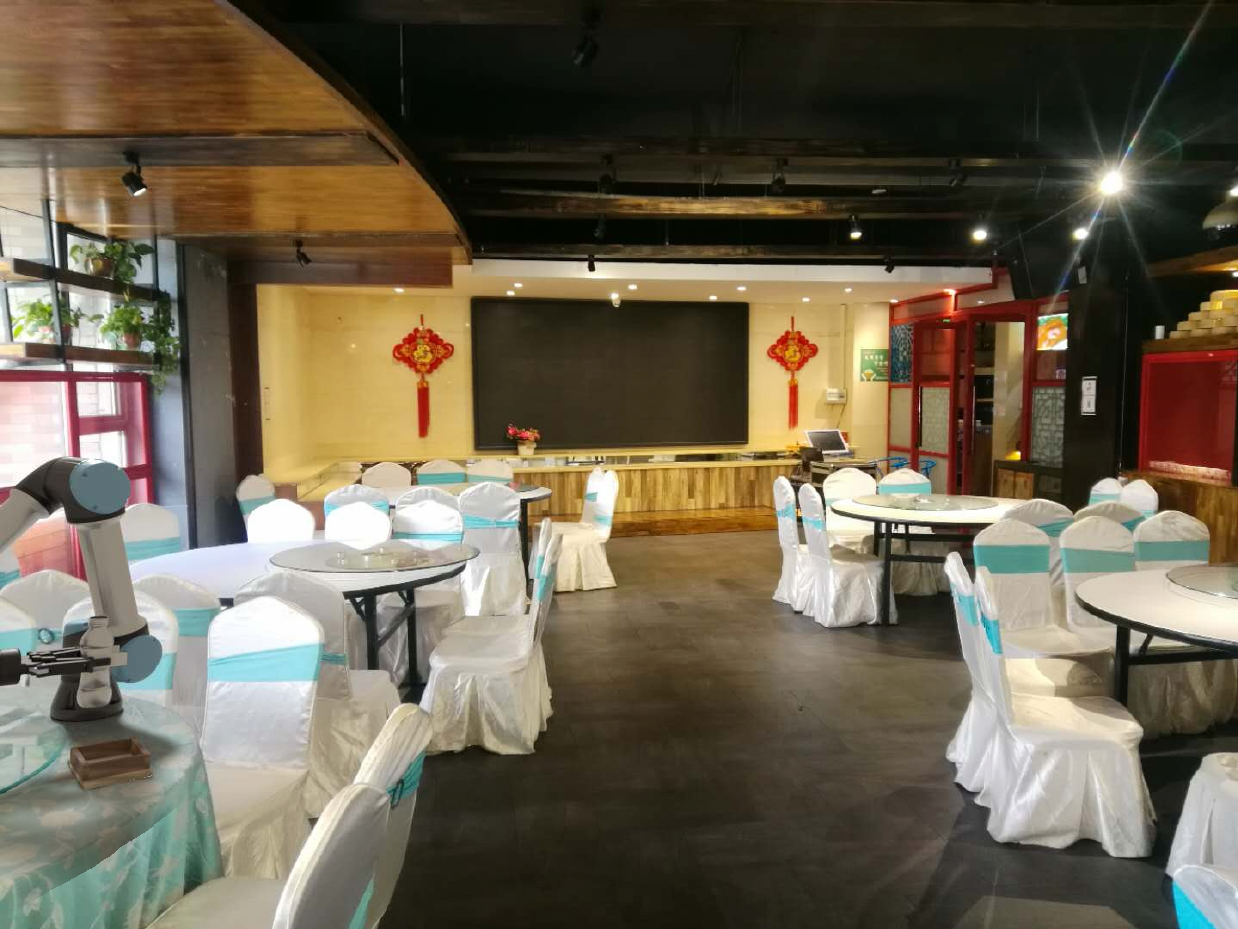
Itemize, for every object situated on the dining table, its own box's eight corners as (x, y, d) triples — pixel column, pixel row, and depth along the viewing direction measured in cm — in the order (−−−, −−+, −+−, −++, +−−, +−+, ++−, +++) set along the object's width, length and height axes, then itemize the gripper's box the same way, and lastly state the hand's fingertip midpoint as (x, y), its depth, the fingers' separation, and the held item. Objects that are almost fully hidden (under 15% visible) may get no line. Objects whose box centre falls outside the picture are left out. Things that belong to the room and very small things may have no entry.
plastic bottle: (94, 713, 181) (100, 622, 181) (68, 709, 183) (73, 618, 182) (118, 704, 188) (123, 616, 187) (92, 700, 189) (97, 613, 189)
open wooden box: (67, 763, 176) (68, 744, 176) (131, 752, 184) (132, 734, 184) (84, 790, 164) (85, 770, 164) (152, 776, 173) (153, 757, 172)
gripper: (-12, 674, 180) (111, 661, 196) (2, 698, 166) (132, 682, 182) (-10, 640, 179) (113, 629, 195) (4, 661, 166) (134, 647, 181)
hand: (122, 654), depth 188 cm, fingers closed on plastic bottle, 6 cm apart
